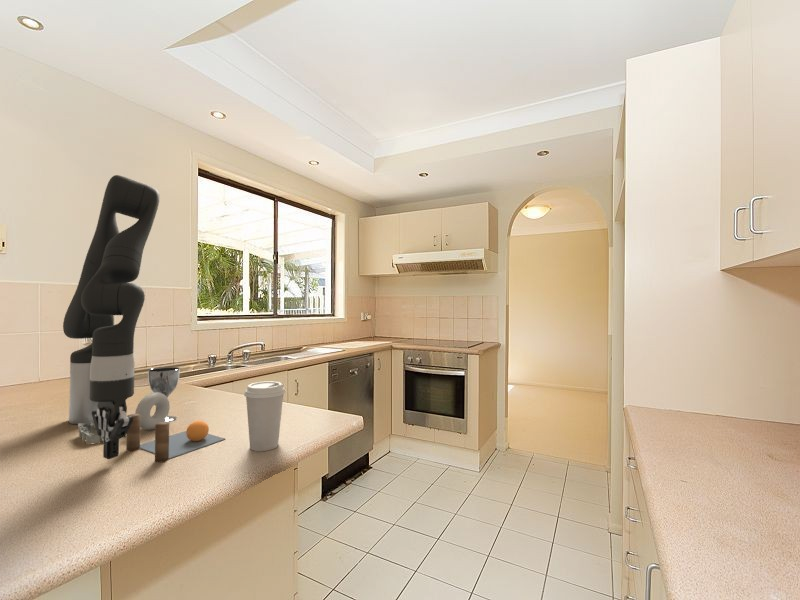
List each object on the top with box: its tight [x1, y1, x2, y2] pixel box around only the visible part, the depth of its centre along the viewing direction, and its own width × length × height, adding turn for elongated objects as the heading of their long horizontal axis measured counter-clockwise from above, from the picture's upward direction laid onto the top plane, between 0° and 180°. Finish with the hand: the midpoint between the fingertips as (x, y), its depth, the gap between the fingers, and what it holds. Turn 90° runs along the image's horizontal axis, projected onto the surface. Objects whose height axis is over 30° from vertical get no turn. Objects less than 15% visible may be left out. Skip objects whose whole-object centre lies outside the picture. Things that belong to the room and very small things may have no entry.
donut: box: [134, 392, 171, 431], centre depth 102 cm, size 10×4×10 cm, turn 170°
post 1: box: [125, 413, 141, 452], centre depth 88 cm, size 3×3×8 cm
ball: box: [185, 420, 210, 441], centre depth 93 cm, size 5×5×5 cm
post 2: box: [154, 422, 170, 463], centre depth 82 cm, size 3×3×8 cm
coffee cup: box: [243, 380, 286, 452], centre depth 91 cm, size 10×10×15 cm
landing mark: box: [139, 430, 226, 460], centre depth 92 cm, size 14×14×1 cm
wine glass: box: [147, 366, 181, 423], centre depth 110 cm, size 8×8×15 cm
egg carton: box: [77, 422, 104, 445], centre depth 95 cm, size 11×8×4 cm
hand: (110, 457), depth 79 cm, fingers closed
